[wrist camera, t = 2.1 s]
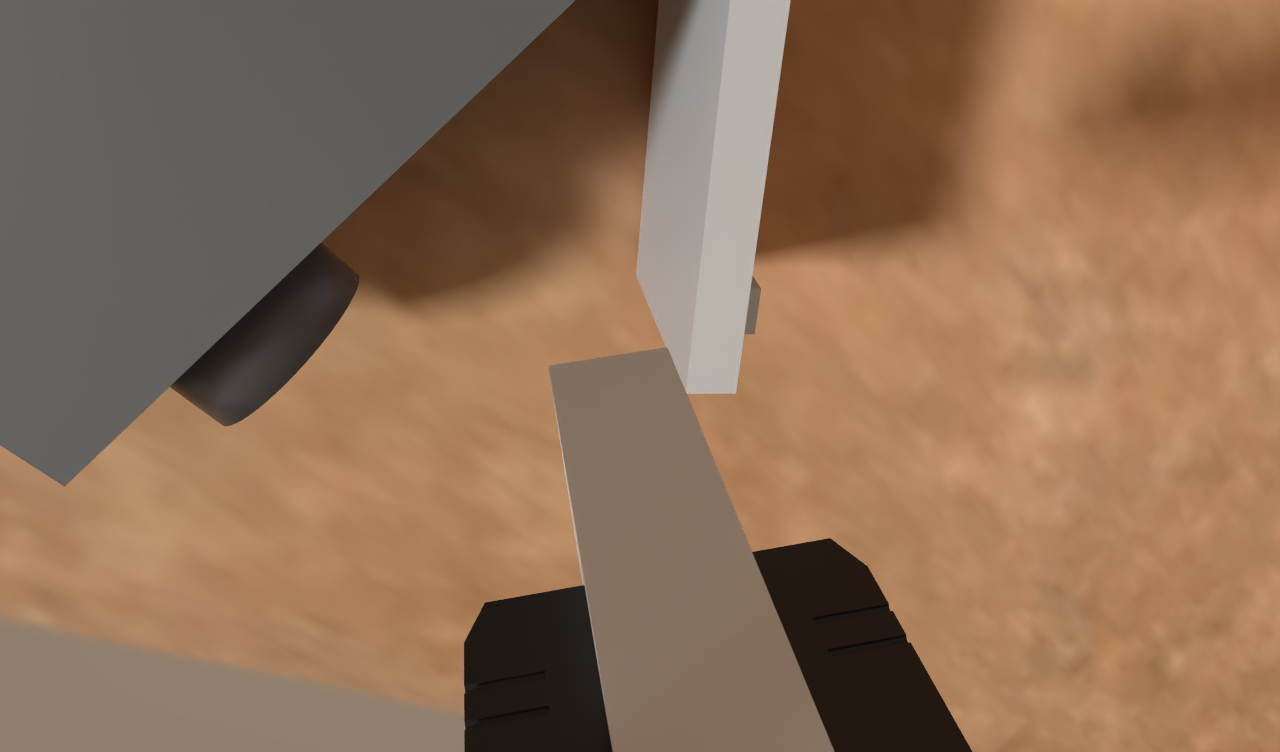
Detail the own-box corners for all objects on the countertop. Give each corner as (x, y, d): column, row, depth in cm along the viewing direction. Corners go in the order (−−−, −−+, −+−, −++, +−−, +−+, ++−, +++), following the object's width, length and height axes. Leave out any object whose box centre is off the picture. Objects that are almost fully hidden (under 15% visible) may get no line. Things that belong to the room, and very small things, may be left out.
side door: (634, 272, 25) (687, 398, 19) (670, -166, 21) (752, -166, 15) (698, 273, 25) (768, 398, 20) (747, -159, 21) (855, -157, 15)
